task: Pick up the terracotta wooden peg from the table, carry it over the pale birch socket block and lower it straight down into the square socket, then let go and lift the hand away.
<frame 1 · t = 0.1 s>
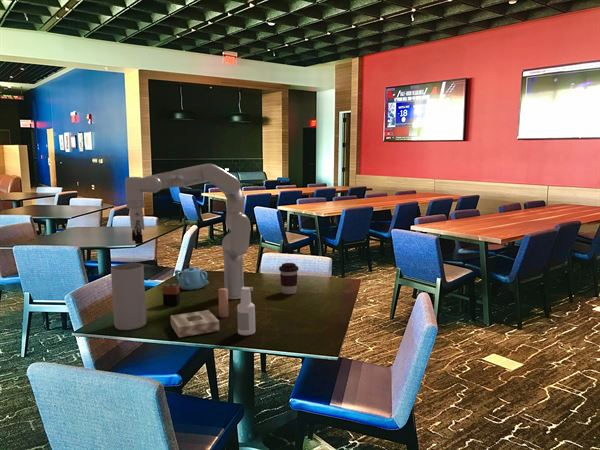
hand: (137, 242, 216), 31 cm above the table, tool pointing down, fingers open, 9 cm apart
coffee cup: (289, 293, 244), on the table
battery: (171, 305, 226), on the table
socket block: (194, 327, 194), on the table
spray bottle: (246, 333, 187), on the table
teapot: (191, 287, 258), on the table
cylinder vase: (130, 326, 197), on the table
peg: (223, 316, 208), on the table
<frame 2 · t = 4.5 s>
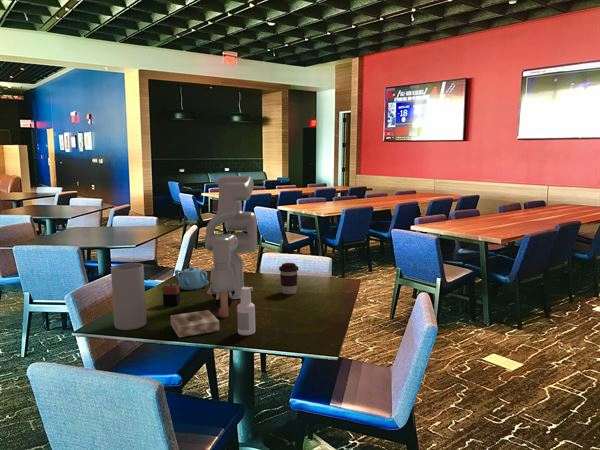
hand: (223, 306, 207), 4 cm above the table, tool pointing down, fingers closed on peg, 4 cm apart
peg: (223, 316, 208), on the table, touching gripper
everything else where it was.
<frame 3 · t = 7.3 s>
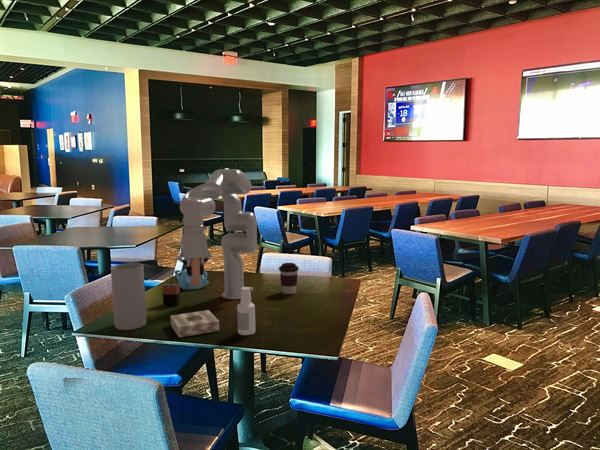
hand: (195, 274, 192), 22 cm above the table, tool pointing down, fingers closed on peg, 4 cm apart
peg: (195, 285, 192), point 18 cm above the table, touching gripper
everything else where it was.
when the fingers open (6 cm above the table, at t = 10.2 s): peg drops 1 cm, resting in socket block.
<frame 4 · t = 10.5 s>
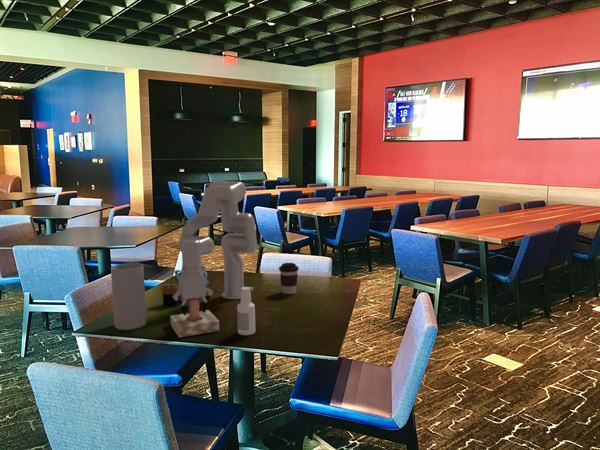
hand: (194, 312, 193), 6 cm above the table, tool pointing down, fingers open, 7 cm apart
peg: (194, 327, 194), resting in socket block
everything else where it was.
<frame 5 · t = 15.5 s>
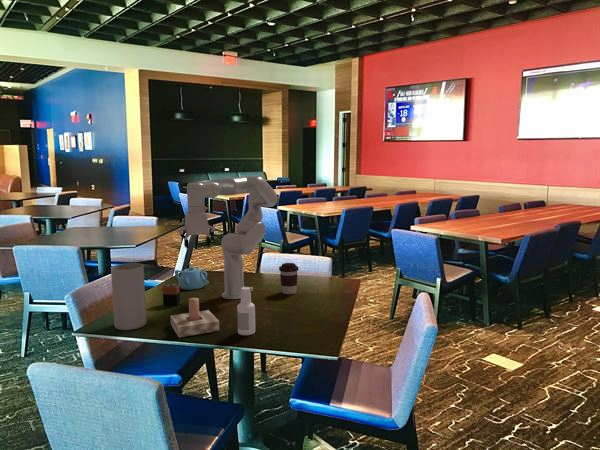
hand: (197, 247, 218), 28 cm above the table, tool pointing down, fingers open, 9 cm apart
nothing on the table moved.
at the end: peg 0.0 cm off-centre on the socket block, point 0.0 cm above the socket block's base; peg tilted 0°; the gripper is holding nothing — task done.
